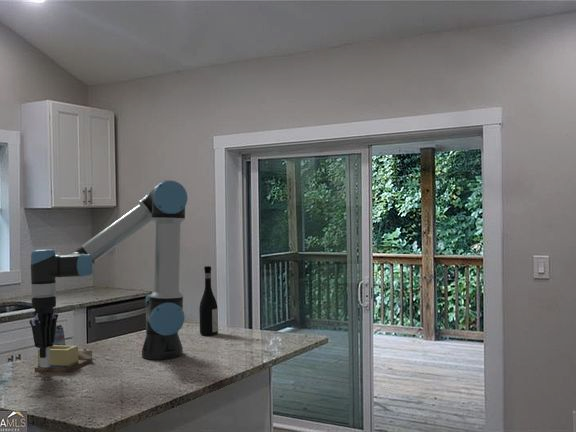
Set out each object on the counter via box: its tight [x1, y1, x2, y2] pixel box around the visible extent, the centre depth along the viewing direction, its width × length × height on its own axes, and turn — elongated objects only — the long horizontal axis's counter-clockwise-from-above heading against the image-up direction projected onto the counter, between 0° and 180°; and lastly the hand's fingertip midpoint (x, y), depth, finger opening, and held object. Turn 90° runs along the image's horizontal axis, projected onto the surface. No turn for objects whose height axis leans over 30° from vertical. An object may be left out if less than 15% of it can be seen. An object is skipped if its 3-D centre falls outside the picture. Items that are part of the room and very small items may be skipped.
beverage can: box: [52, 324, 66, 345], centre depth 222 cm, size 6×7×12 cm
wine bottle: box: [199, 265, 219, 337], centre depth 259 cm, size 8×8×30 cm
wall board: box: [34, 348, 93, 373], centre depth 207 cm, size 13×15×5 cm
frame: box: [37, 344, 79, 368], centre depth 204 cm, size 11×7×6 cm, turn 79°
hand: (45, 366), depth 196 cm, fingers closed
